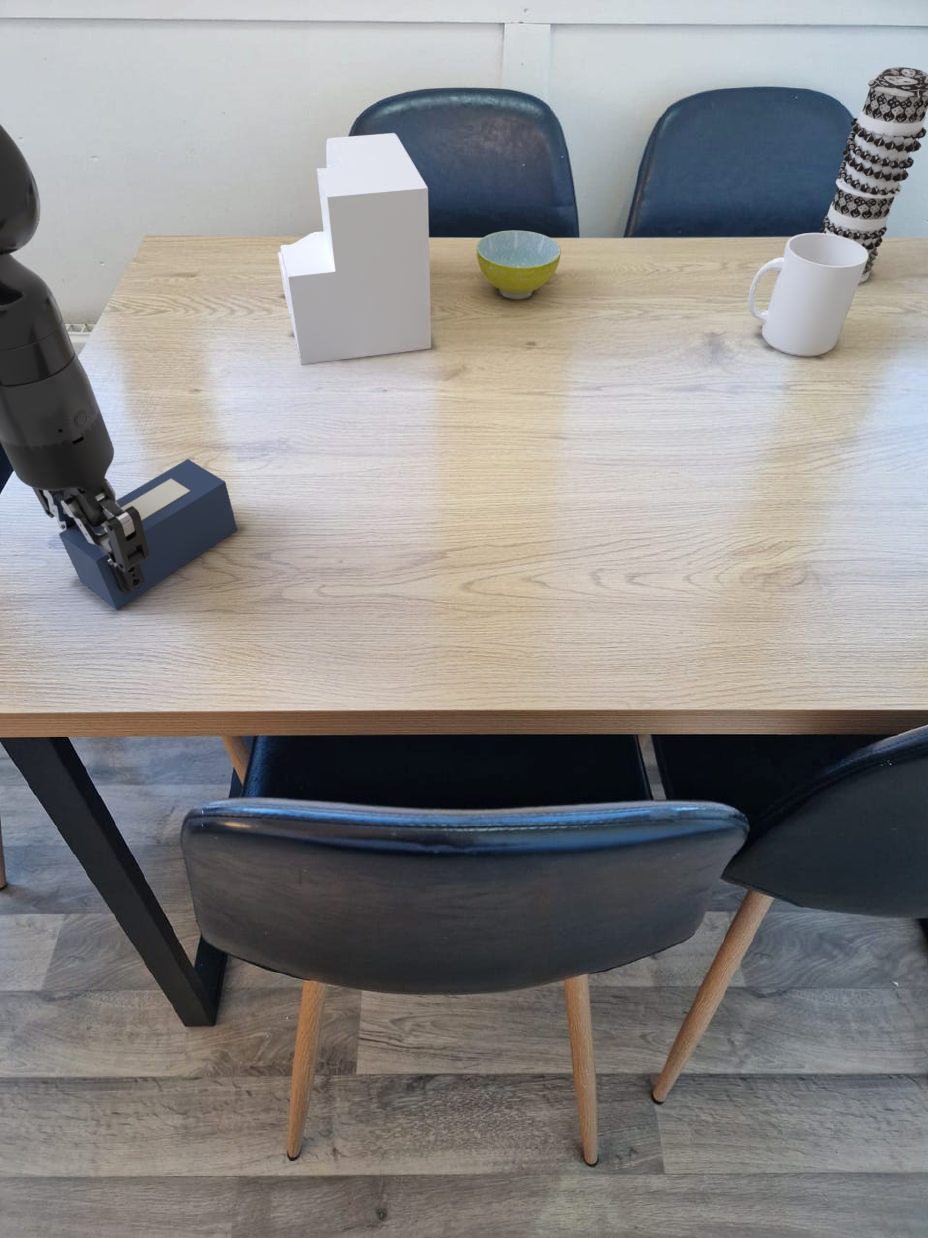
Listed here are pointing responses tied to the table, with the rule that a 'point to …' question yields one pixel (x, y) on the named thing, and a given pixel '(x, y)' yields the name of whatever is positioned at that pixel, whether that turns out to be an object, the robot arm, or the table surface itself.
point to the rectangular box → (160, 529)
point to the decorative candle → (878, 158)
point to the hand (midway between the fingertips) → (112, 572)
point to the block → (362, 256)
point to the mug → (810, 293)
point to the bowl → (518, 261)
